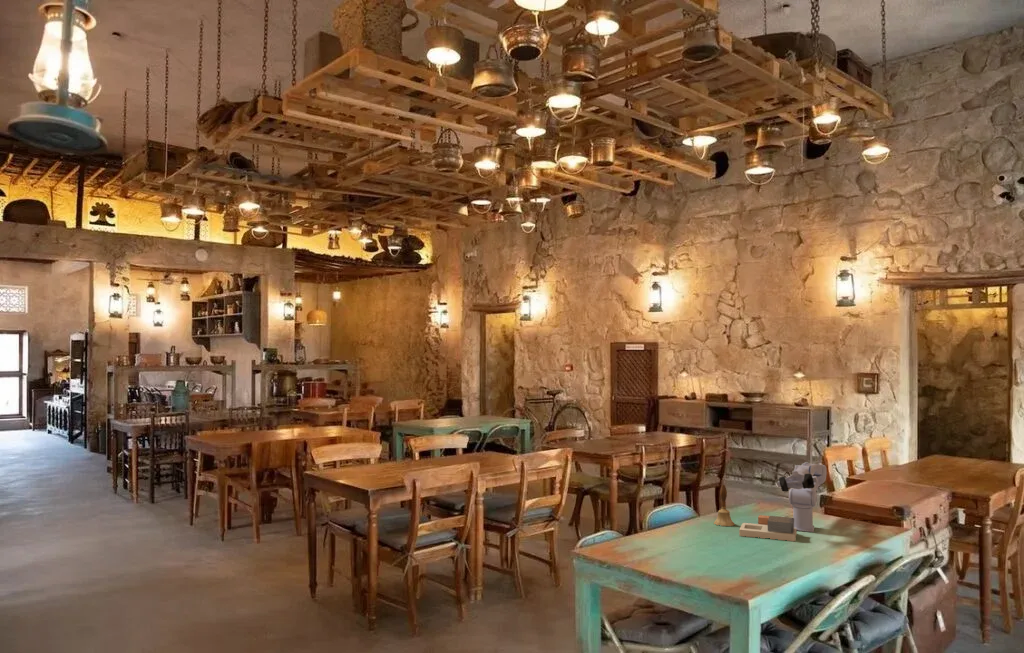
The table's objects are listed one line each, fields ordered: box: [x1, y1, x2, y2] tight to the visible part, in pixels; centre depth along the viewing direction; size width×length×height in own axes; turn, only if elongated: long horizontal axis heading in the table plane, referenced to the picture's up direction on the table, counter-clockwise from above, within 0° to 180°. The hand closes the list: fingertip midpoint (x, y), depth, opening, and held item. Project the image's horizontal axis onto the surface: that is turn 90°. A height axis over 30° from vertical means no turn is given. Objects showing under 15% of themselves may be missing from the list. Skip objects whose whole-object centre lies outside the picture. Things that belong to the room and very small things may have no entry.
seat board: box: [738, 522, 798, 542], centre depth 281 cm, size 12×20×2 cm, turn 66°
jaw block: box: [757, 514, 770, 525], centre depth 290 cm, size 4×4×5 cm
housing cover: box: [768, 515, 794, 533], centre depth 279 cm, size 9×9×4 cm
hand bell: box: [713, 484, 736, 527], centre depth 298 cm, size 8×8×16 cm
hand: (793, 487), depth 273 cm, fingers open, 7 cm apart
